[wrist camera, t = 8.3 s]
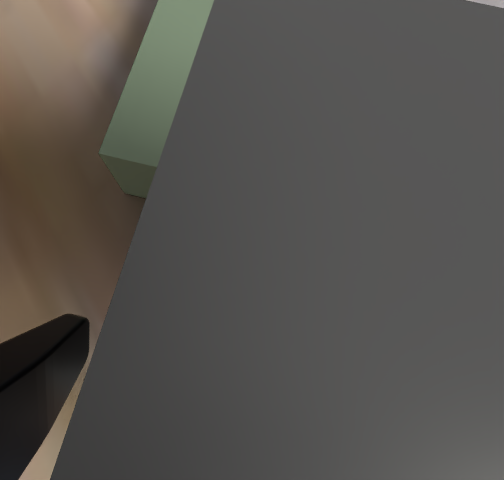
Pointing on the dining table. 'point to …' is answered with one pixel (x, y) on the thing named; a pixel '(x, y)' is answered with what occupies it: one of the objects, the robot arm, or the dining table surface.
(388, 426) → the chute block
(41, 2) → the dining table surface
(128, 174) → the green plate with knob
